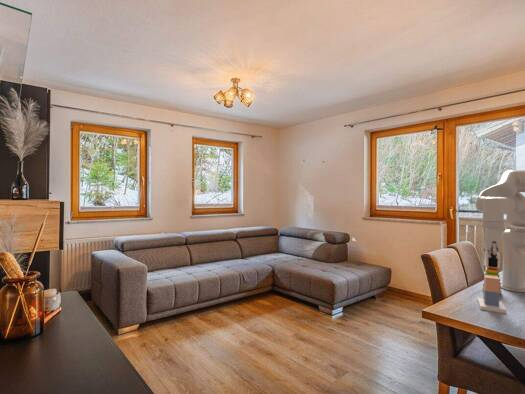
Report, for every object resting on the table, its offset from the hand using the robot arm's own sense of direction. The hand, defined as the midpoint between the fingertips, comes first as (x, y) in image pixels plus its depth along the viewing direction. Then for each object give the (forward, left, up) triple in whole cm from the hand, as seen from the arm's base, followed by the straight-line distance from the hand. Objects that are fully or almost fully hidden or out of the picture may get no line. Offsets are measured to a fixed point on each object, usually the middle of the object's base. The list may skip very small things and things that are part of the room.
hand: (491, 265), depth 137 cm
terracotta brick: (0, 0, -11) cm, 11 cm away
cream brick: (0, 0, -1) cm, 1 cm away
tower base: (0, 0, -19) cm, 19 cm away
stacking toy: (-25, +4, -19) cm, 32 cm away
